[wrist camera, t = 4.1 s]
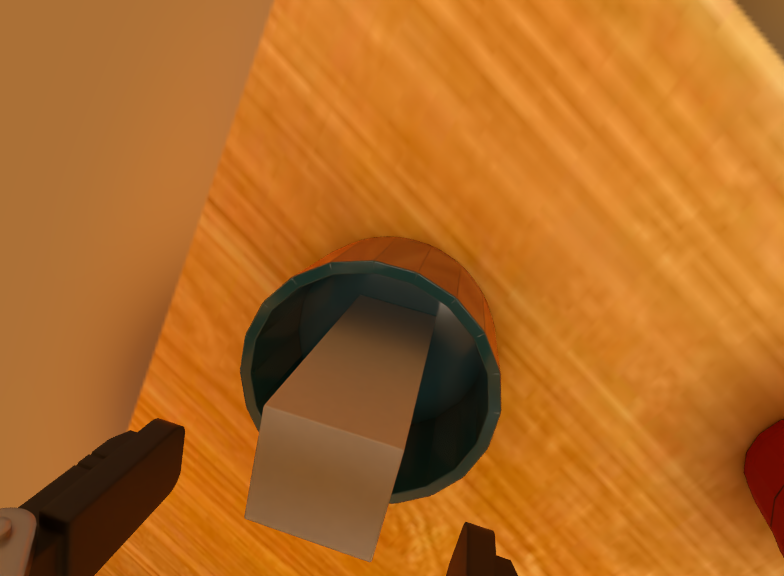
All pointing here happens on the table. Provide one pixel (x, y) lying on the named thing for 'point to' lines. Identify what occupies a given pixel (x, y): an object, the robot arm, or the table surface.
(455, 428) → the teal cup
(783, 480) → the plastic cup
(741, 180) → the table surface
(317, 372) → the block
